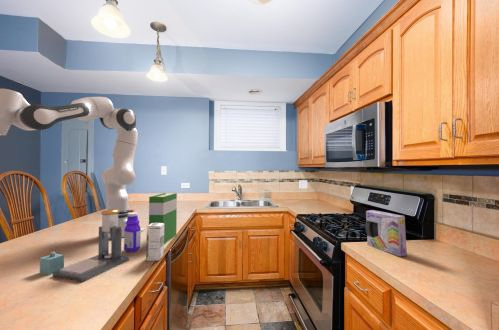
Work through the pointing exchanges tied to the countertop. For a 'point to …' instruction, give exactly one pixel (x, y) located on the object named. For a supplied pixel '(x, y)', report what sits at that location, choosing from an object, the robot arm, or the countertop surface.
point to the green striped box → (164, 213)
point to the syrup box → (155, 242)
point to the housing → (51, 263)
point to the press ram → (109, 221)
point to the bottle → (132, 233)
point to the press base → (96, 259)
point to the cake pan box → (386, 232)
